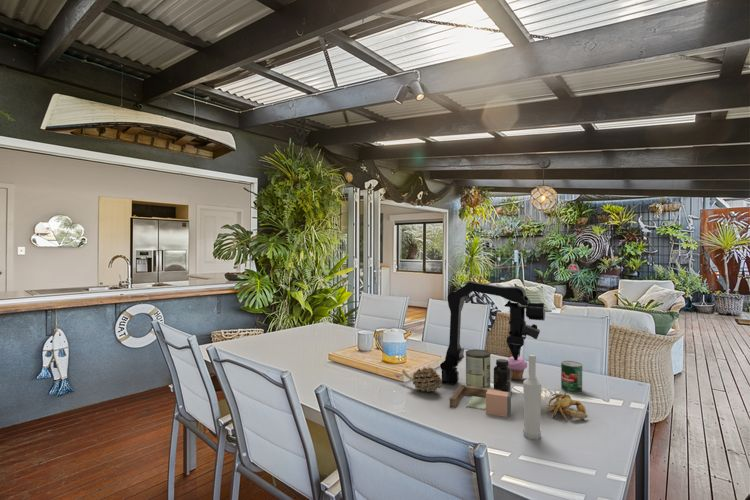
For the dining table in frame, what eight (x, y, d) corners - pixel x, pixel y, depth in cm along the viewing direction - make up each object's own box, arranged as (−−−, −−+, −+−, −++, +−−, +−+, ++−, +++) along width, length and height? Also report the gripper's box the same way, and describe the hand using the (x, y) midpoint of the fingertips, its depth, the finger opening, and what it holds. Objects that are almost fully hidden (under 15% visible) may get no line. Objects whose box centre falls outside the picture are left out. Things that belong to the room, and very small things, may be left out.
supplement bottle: (511, 393, 164) (511, 363, 164) (494, 391, 166) (494, 362, 165) (509, 387, 171) (509, 358, 171) (492, 386, 172) (492, 357, 172)
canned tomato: (582, 388, 169) (582, 362, 169) (582, 394, 162) (582, 367, 162) (561, 385, 173) (561, 359, 173) (560, 391, 165) (561, 364, 165)
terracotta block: (485, 413, 144) (485, 393, 144) (487, 408, 148) (488, 389, 148) (509, 417, 141) (509, 396, 141) (511, 412, 145) (511, 392, 145)
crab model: (586, 427, 134) (586, 410, 134) (544, 418, 140) (544, 402, 140) (588, 410, 147) (588, 395, 147) (550, 403, 154) (550, 388, 154)
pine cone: (448, 393, 164) (448, 368, 164) (433, 399, 157) (433, 373, 157) (407, 380, 180) (407, 357, 180) (392, 385, 173) (392, 362, 173)
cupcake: (505, 380, 180) (505, 357, 180) (506, 374, 188) (506, 353, 188) (526, 383, 176) (526, 359, 176) (527, 377, 184) (527, 354, 184)
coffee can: (466, 380, 180) (467, 348, 180) (491, 382, 176) (491, 350, 176) (464, 388, 170) (464, 354, 170) (489, 390, 167) (489, 356, 167)
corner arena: (449, 406, 150) (449, 398, 150) (460, 391, 165) (460, 384, 165) (494, 414, 143) (494, 405, 143) (501, 397, 159) (501, 390, 159)
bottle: (520, 432, 129) (520, 353, 129) (536, 431, 130) (536, 353, 130) (527, 440, 124) (528, 357, 124) (544, 439, 125) (544, 357, 124)
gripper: (537, 324, 152) (537, 365, 152) (539, 316, 169) (539, 353, 169) (506, 321, 156) (506, 362, 156) (511, 314, 173) (511, 351, 174)
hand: (516, 357), depth 164 cm, fingers open, 9 cm apart
